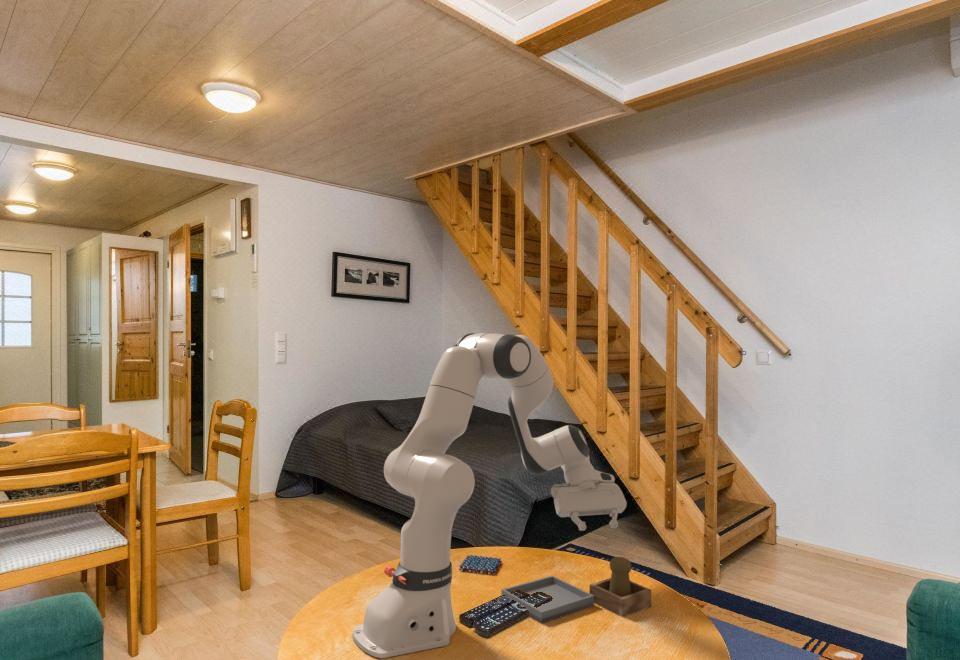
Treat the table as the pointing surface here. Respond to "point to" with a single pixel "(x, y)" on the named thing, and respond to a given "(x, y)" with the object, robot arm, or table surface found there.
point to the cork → (620, 576)
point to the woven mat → (480, 564)
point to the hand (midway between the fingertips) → (599, 528)
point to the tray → (563, 596)
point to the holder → (621, 598)
